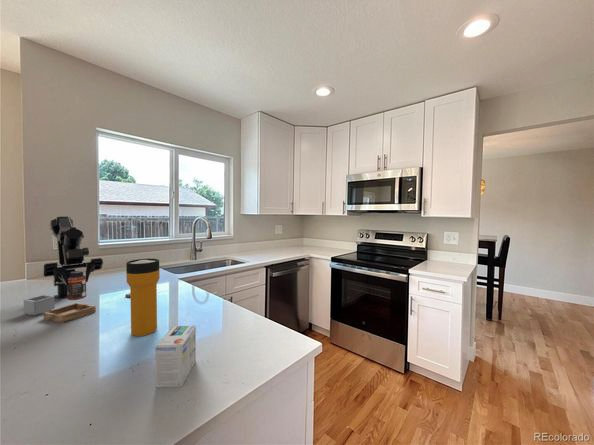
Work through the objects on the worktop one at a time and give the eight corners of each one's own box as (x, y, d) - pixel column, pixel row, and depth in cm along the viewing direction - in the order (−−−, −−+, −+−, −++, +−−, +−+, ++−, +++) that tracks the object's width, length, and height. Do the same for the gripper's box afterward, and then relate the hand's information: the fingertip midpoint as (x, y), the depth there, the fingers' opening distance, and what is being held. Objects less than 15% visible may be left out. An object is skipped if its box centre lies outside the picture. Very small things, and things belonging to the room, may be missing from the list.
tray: (43, 318, 99) (43, 312, 99) (77, 308, 110) (77, 302, 110) (63, 323, 95) (62, 316, 95) (95, 311, 106) (95, 305, 106)
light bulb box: (172, 362, 71) (172, 325, 71) (196, 361, 72) (196, 324, 71) (154, 388, 60) (153, 345, 60) (182, 387, 61) (182, 344, 61)
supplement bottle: (89, 297, 105) (89, 271, 105) (72, 301, 100) (72, 274, 99) (81, 295, 108) (81, 269, 107) (64, 299, 102) (64, 272, 102)
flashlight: (119, 261, 85) (145, 256, 94) (120, 335, 86) (146, 323, 95) (140, 263, 82) (165, 258, 91) (141, 340, 83) (166, 327, 92)
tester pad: (125, 297, 125) (125, 293, 125) (134, 293, 130) (134, 290, 130) (137, 298, 122) (137, 295, 122) (146, 295, 127) (146, 292, 127)
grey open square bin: (23, 314, 103) (23, 299, 103) (44, 307, 110) (44, 294, 110) (34, 316, 101) (33, 301, 101) (55, 309, 108) (54, 296, 107)
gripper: (43, 243, 98) (46, 276, 92) (101, 240, 112) (108, 268, 106) (41, 260, 104) (45, 292, 97) (98, 255, 118) (104, 282, 111)
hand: (77, 283), depth 103 cm, fingers closed on supplement bottle, 6 cm apart
